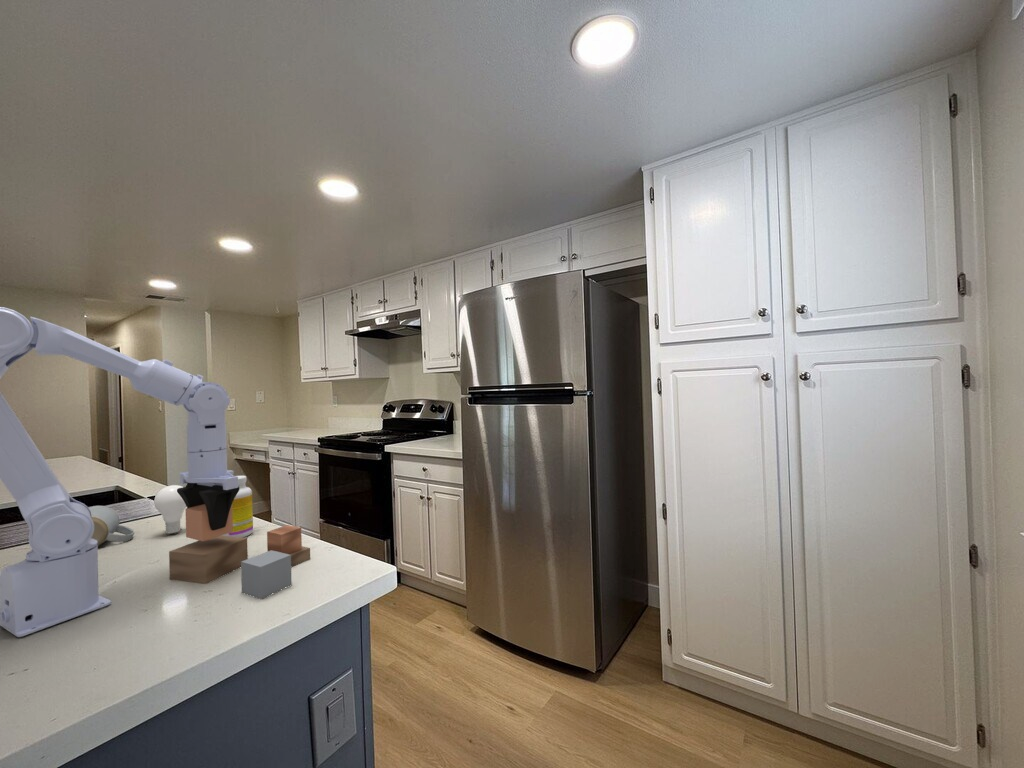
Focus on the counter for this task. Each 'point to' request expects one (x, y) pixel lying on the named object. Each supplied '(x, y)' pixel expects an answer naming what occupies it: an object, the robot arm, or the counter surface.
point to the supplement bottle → (242, 511)
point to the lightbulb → (170, 507)
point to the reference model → (288, 543)
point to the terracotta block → (204, 524)
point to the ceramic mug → (108, 525)
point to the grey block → (266, 574)
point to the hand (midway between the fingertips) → (209, 526)
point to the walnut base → (207, 559)
